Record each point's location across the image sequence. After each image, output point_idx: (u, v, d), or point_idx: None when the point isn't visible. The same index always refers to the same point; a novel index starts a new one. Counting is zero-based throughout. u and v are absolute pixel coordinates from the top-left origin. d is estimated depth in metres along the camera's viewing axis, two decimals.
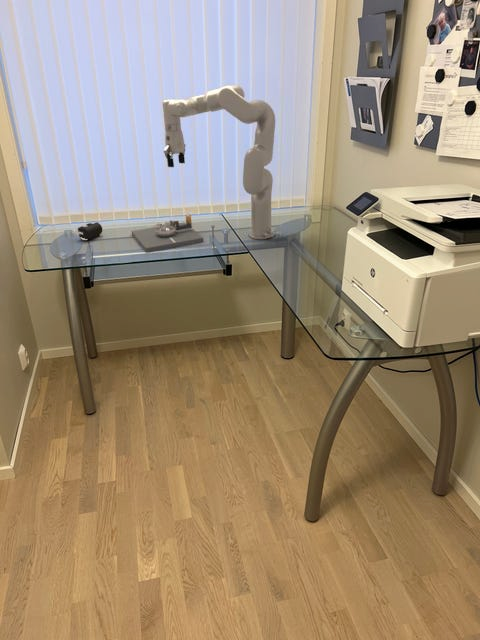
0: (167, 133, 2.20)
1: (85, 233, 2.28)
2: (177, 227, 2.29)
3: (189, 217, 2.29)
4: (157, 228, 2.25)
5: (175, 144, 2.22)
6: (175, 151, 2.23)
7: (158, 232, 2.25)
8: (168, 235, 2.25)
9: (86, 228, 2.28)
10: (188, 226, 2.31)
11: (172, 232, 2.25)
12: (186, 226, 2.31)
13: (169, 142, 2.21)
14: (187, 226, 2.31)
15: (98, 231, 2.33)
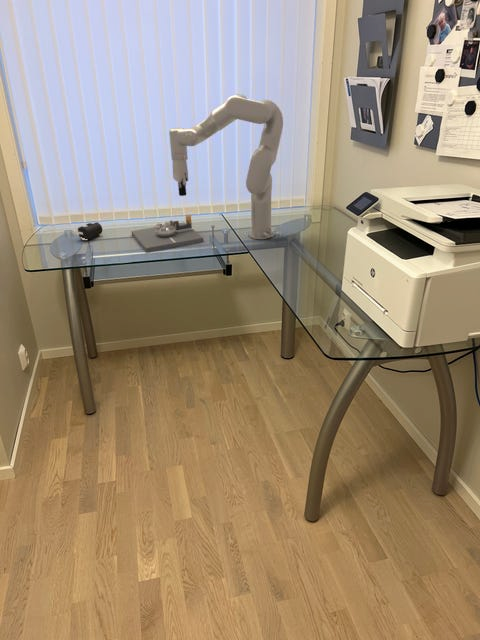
0: None
1: (85, 233, 2.28)
2: (177, 227, 2.29)
3: (189, 217, 2.29)
4: (157, 228, 2.25)
5: (173, 170, 2.26)
6: (173, 177, 2.27)
7: (158, 232, 2.25)
8: (168, 235, 2.25)
9: (86, 228, 2.28)
10: (188, 226, 2.31)
11: (172, 232, 2.25)
12: (186, 226, 2.31)
13: None
14: (187, 226, 2.31)
15: (98, 231, 2.33)
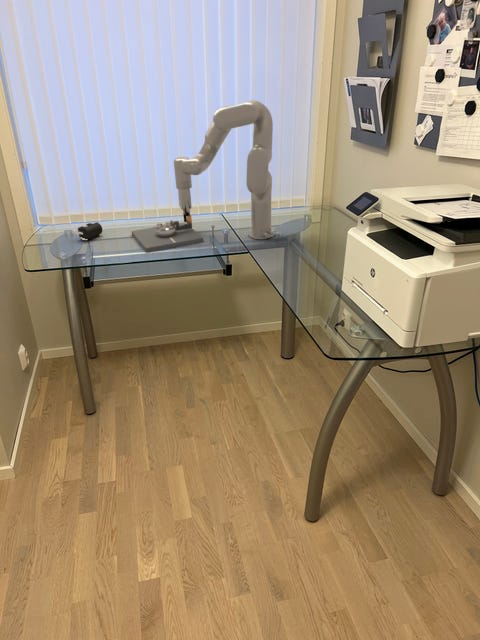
0: None
1: (85, 233, 2.28)
2: (177, 227, 2.29)
3: (189, 217, 2.28)
4: (157, 228, 2.25)
5: None
6: (179, 203, 2.33)
7: (158, 232, 2.25)
8: (167, 235, 2.25)
9: (86, 228, 2.28)
10: (188, 226, 2.31)
11: (171, 232, 2.25)
12: (186, 226, 2.30)
13: None
14: (187, 226, 2.30)
15: (98, 231, 2.33)
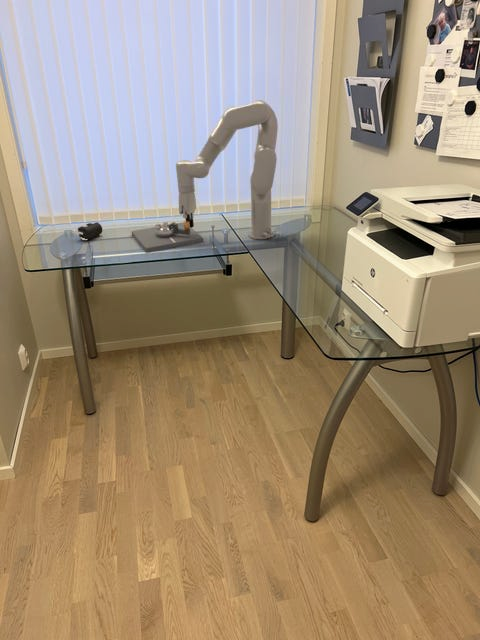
0: None
1: (85, 233, 2.28)
2: (174, 230, 2.25)
3: (185, 223, 2.21)
4: (156, 226, 2.28)
5: None
6: None
7: None
8: (160, 235, 2.25)
9: (86, 228, 2.28)
10: (185, 232, 2.23)
11: (164, 233, 2.24)
12: (183, 232, 2.23)
13: None
14: (184, 232, 2.23)
15: (98, 231, 2.33)
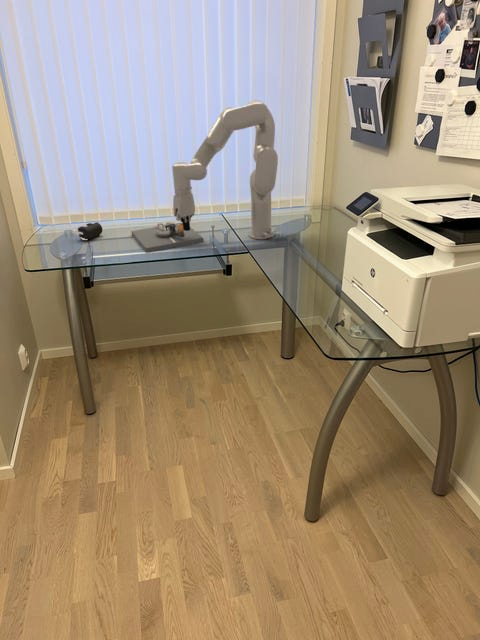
0: None
1: (85, 233, 2.28)
2: (171, 231, 2.24)
3: (178, 226, 2.17)
4: (158, 225, 2.29)
5: None
6: None
7: None
8: (157, 234, 2.26)
9: (86, 228, 2.28)
10: (178, 235, 2.20)
11: (160, 233, 2.24)
12: (177, 234, 2.21)
13: None
14: (178, 234, 2.21)
15: (98, 231, 2.33)
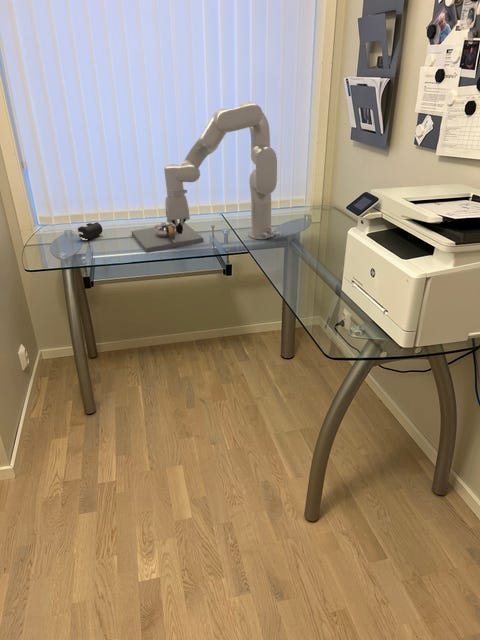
0: (185, 196, 2.12)
1: (85, 233, 2.28)
2: (166, 232, 2.23)
3: (168, 228, 2.16)
4: (161, 224, 2.30)
5: None
6: None
7: None
8: (156, 233, 2.27)
9: (86, 228, 2.28)
10: (169, 236, 2.18)
11: (157, 232, 2.25)
12: (169, 235, 2.19)
13: None
14: (169, 236, 2.19)
15: (98, 231, 2.33)
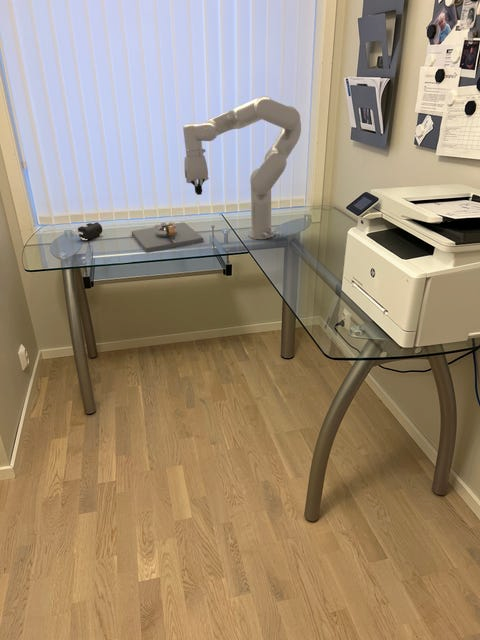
0: None
1: (85, 233, 2.28)
2: (166, 232, 2.23)
3: (168, 228, 2.16)
4: (161, 224, 2.30)
5: None
6: None
7: None
8: (156, 233, 2.27)
9: (86, 228, 2.28)
10: (169, 236, 2.18)
11: (157, 232, 2.25)
12: (169, 235, 2.19)
13: None
14: (169, 236, 2.19)
15: (98, 231, 2.33)
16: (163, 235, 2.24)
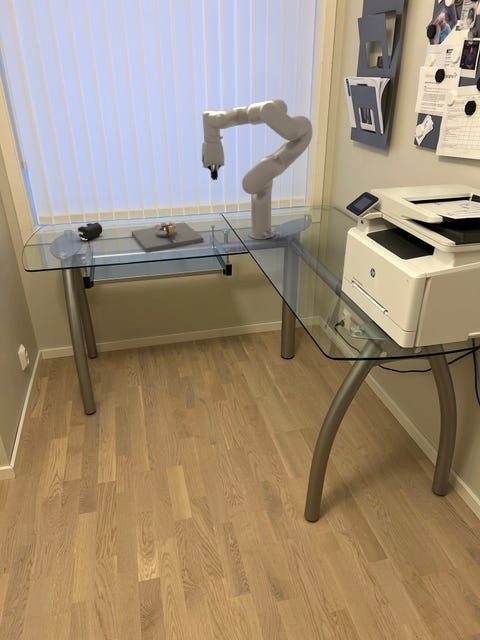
0: None
1: (85, 233, 2.28)
2: (166, 232, 2.23)
3: (168, 228, 2.16)
4: (161, 224, 2.30)
5: None
6: None
7: None
8: (156, 233, 2.27)
9: (86, 228, 2.28)
10: (169, 236, 2.18)
11: (157, 232, 2.25)
12: (169, 235, 2.19)
13: None
14: (169, 236, 2.19)
15: (98, 231, 2.33)
16: (163, 235, 2.24)
